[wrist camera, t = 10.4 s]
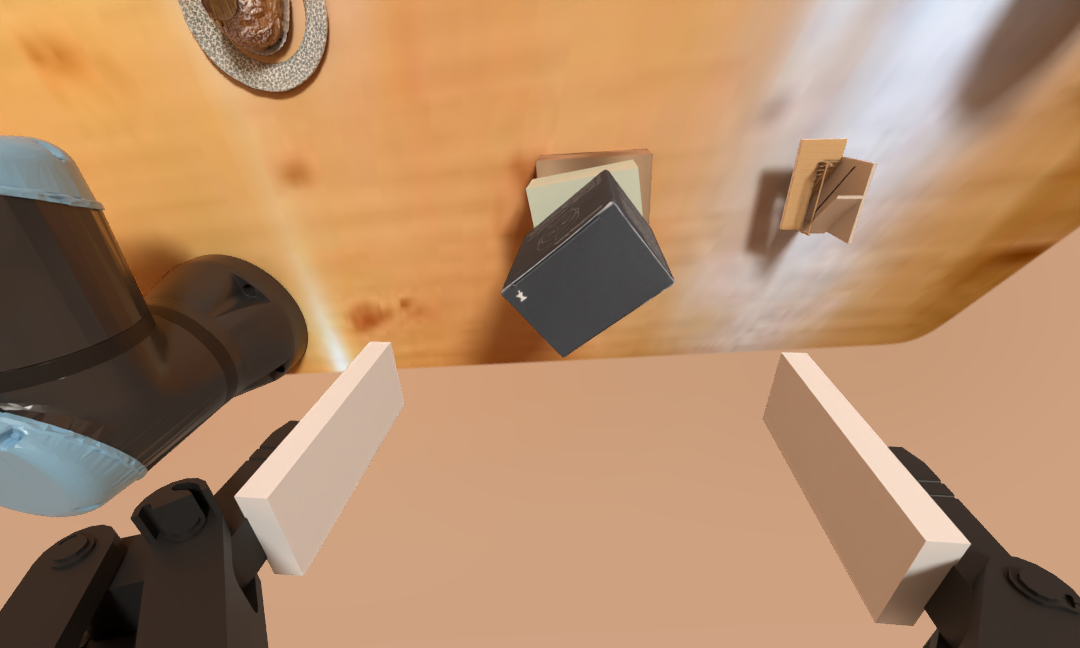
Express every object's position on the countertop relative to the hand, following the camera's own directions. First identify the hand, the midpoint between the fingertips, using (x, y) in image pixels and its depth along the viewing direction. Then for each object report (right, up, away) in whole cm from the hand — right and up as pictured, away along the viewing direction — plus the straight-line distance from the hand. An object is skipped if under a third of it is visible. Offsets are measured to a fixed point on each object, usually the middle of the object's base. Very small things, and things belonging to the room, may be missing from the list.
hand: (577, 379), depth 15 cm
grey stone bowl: (-24, +27, +19) cm, 41 cm away
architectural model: (+21, +14, +22) cm, 33 cm away
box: (+2, +9, +17) cm, 20 cm away
